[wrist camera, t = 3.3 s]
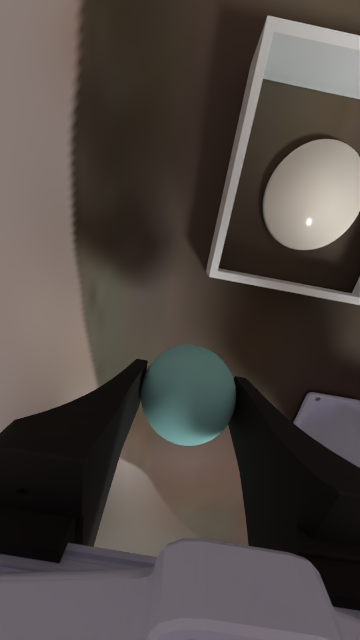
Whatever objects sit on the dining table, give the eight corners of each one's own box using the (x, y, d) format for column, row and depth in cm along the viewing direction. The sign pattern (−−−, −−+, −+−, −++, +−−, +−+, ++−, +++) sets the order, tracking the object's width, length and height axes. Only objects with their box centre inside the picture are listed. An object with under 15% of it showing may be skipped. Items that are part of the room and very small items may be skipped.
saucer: (379, 153, 14) (385, 150, 14) (335, 257, 17) (340, 257, 16) (280, 133, 14) (283, 129, 14) (250, 240, 17) (252, 240, 16)
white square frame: (446, 107, 13) (515, 70, 11) (354, 299, 18) (386, 310, 15) (250, 65, 13) (267, 15, 10) (205, 271, 17) (208, 276, 15)
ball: (234, 337, 13) (264, 390, 8) (215, 402, 15) (232, 477, 10) (153, 324, 13) (137, 371, 8) (144, 391, 14) (126, 463, 10)
